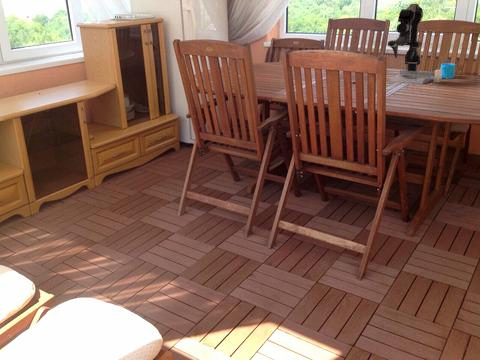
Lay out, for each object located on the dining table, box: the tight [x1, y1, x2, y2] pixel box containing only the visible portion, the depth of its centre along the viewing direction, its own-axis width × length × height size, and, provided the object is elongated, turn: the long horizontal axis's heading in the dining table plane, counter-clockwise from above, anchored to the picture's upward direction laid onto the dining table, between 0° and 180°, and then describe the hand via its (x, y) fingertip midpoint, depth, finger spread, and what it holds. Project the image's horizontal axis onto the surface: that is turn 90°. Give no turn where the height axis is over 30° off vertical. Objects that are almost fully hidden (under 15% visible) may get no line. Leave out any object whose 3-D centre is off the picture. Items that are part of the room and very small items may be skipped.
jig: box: [390, 69, 434, 85], centre depth 306 cm, size 16×20×4 cm
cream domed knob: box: [433, 69, 443, 83], centre depth 299 cm, size 4×4×7 cm
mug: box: [439, 62, 456, 79], centre depth 309 cm, size 12×8×8 cm
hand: (403, 58), depth 301 cm, fingers open, 9 cm apart
